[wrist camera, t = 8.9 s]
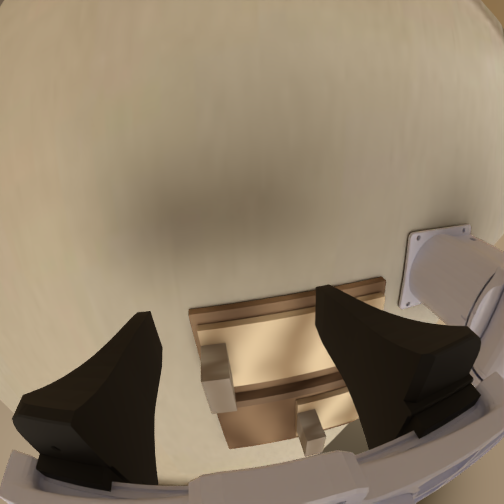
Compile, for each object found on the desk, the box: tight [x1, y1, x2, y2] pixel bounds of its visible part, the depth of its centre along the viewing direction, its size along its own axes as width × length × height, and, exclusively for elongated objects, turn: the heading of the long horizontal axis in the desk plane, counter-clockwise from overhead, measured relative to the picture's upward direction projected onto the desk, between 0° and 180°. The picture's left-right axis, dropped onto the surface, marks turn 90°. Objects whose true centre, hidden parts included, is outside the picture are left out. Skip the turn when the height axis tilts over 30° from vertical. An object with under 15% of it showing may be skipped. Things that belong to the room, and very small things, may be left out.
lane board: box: [189, 277, 386, 449], centre depth 26 cm, size 17×22×2 cm
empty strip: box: [197, 292, 385, 414], centre depth 21 cm, size 16×7×5 cm, turn 95°
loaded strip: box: [295, 387, 359, 457], centre depth 27 cm, size 16×7×5 cm, turn 95°
